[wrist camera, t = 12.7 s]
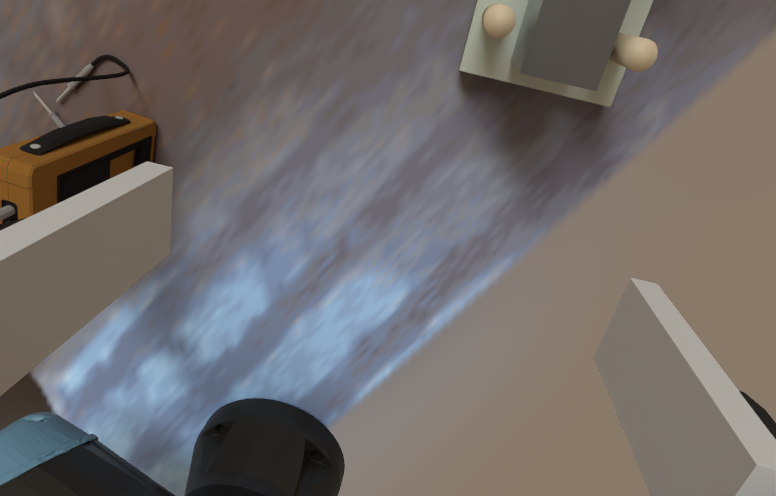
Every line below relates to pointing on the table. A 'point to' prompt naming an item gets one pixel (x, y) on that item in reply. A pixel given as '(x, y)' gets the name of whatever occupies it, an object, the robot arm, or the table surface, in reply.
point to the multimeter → (71, 153)
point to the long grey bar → (568, 39)
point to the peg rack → (493, 60)
